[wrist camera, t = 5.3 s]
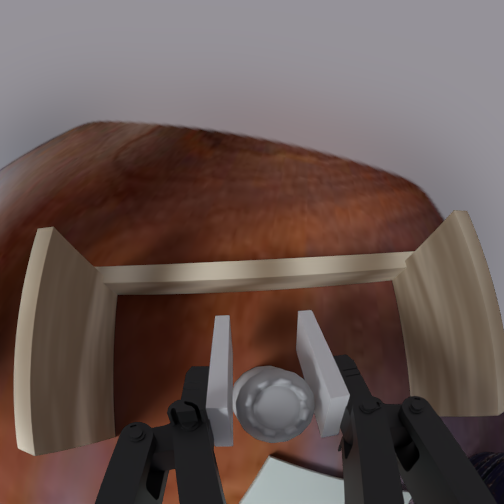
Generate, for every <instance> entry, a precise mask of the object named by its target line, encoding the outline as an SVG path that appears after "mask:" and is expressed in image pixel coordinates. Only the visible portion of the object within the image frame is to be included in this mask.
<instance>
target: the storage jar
mask: <svg viewBox="0 0 504 504" xmlns="http://www.w3.org/2000/svg"><path fill="white" fill-rule="evenodd" d="M469 460H470V462H471V463H472V465H473V466H474V468H475V469H476V471H477V472H478V474H479V475H480V477H481V478H482V480H483V482H484V483H485V485H486V486H487V488H488V489H489V491H490V493H491V494H492V496H493V498H494V499H495V501H496V502H497V504H504V453H492V452H483V453H479V454H476V455H475V456H473V457H471V458H469Z"/></svg>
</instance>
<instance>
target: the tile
mask: <svg viewBox="0 0 504 504" xmlns="http://www.w3.org/2000/svg"><path fill="white" fill-rule="evenodd" d="M402 491H403V497H404V504H408V503H409V501H410V500H411V498H412V497H411V495H410V493H409V491H404V490H402ZM239 504H345V499H344V479H342V478H338V477H334V476H331V475H327V474H323V473H320V472H317V471H313V470H310V469H307V468H304V467H301V466H298V465H295V464H292V463H289V462H287V461H284V460H281V459H278V458H276V457H273V456H271V455H269V456H268V458H267V459H266V461H265V463H264V465H263V466H262V468H261V469H260V471H259V473H258V474H257V476H256V478H255V479H254V481H253V482H252V484H251V485H250V487H249V489H248V490H247V492H246V493H245V495H244V496H243V498H242V499H241V501H240V502H239Z"/></svg>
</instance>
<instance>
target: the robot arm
mask: <svg viewBox="0 0 504 504" xmlns="http://www.w3.org/2000/svg"><path fill="white" fill-rule="evenodd" d="M296 352H297V355H298V359H299V362H300V366H301V369H302V372H303V376H304V379H305V381H306V382H307V383H308V385H309V387H310V389H311V390H312V392H313V394H314V402H315V410H314V414H315V417H316V421H317V424H318V428H319V432H320V435H321V438H323V437H328V436H334V435H338V433H339V430H340V428H341V431H342V434H343V437H342V439H341V442H340V445H339V448H338V451H341V448H342V460H343V476H344V499H345V504H404V497H403V491H402V485H401V480H400V475H401V477H402V479H403V481H404V483H405V485H406V487H407V489H408V491H409V493H410V495H411V497H412V499H413V501H414V503H415V504H497V502H496V501H495V499H494V498H493V496H492V494H491V493H490V491H489V489H488V488H487V486H486V485H485V483H484V482H483V480H482V478H481V477H480V475H479V474H478V472H477V471H476V469H475V468H474V466H473V465H472V463H471V462H470V460H469V459H468V457H467V456H466V454H465V453H464V451H463V450H462V448H461V447H460V445H459V444H458V443H457V441H456V440H455V438H454V437H453V435H452V434H451V433H450V431H449V430H448V428H447V427H446V426H445V424H444V423H443V421H442V420H441V419H440V417H439V416H438V414H437V413H436V412H435V410H434V409H433V408H432V406H431V405H430V404H429V402H428V401H427V400H426V399H424V398H422V397H419V396H412V397H408V398H407V399H405V400H404V402H403V403H402V404H384V403H382V401H381V400H379V399H378V398H376V397H373V396H372V395H371V393H370V391H369V389H368V387H367V385H366V383H365V381H364V379H363V377H362V376H361V375H360V372H359V370H358V369H357V366H356V364H355V362H354V360H352V359H351V358H350V357H349V356H347V355H339V356H332V353H331V351H330V349H329V347H328V345H327V342H326V340H325V338H324V336H323V334H322V331H321V329H320V327H319V325H318V323H317V321H316V319H315V316H314V314H313V312H312V310H306V311H298V323H297V341H296ZM184 382H185V383H184V387H183V392H182V397H181V400H177V401H175V402H174V403H172V404H171V405H170V406H169V408H168V411H167V414H168V417H169V420H170V422H171V423H169V424H167V425H164V426H160V427H154V428H151V427H150V426H148V425H147V424H145V423H142V422H134V423H130V424H128V425H127V426H125V427H124V428H123V430H122V431H121V434H120V436H119V439H118V441H117V444H116V446H115V449H114V452H113V454H112V457H111V460H110V462H109V465H108V468H107V470H106V473H105V476H104V479H103V482H102V484H101V487H100V490H99V493H98V496H97V499H96V502H95V504H162V501H163V496H164V492H165V487H166V482H167V477H168V473H169V470H171V469H176V478H177V486H178V494H179V501H180V504H226V501H225V497H224V493H223V489H222V484H221V480H220V476H219V471H218V467H217V462H216V458H215V454H214V444H215V446H233V351H232V340H231V328H230V316H229V315H224V316H215V324H214V332H213V341H212V350H211V360H210V366H192V367H191V368H190V369H189V371H188V372H187V373H186V376H185V381H184ZM399 473H400V474H399Z"/></svg>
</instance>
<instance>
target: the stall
mask: <svg viewBox="0 0 504 504" xmlns="http://www.w3.org/2000/svg"><path fill="white" fill-rule="evenodd" d="M389 280H392V282H393V287H394V291H395V296H396V301H397V306H398V311H399V316H400V321H401V327H402V333H403V339H404V345H405V352H406V359H407V367H408V375H409V385H410V396H411V397H412V396H419V397H422V398H424V399H426V400H427V401H428V402H429V404H430V405H431V406H432V408H433V409H434V410H435V412H436V413H437V414H438V416H448V417H475V416H498V415H500V414H501V413H503V412H504V329H503V324H502V319H501V314H500V310H499V305H498V301H497V297H496V293H495V289H494V285H493V282H492V279H491V275H490V272H489V268H488V265H487V262H486V259H485V256H484V253H483V250H482V247H481V245H480V242H479V239H478V236H477V234H476V231H475V229H474V226H473V224H472V221H471V219H470V216H469V214H468V212H467V211H458V210H456V211H455V210H454V211H453V212H452V213H451V214H450V215H449V216H448V217H447V218H446V219H445V221H444V222H443V223H442V224H441V225H440V226H439V227H438V228H437V229H436V230H435V231H434V232H433V233H432V234H431V235H430V236H429V237H428V238H427V239H426V241H425V242H424V243H423V244H422V245H421V246H420V247H419V248H418V249H417V250H416V251H412V252H396V253H379V254H362V255H344V256H326V257H307V258H288V259H268V260H248V261H227V262H205V263H183V264H159V265H135V266H109V267H94V266H93V265H92V264H90V263H89V262H88V261H87V260H86V259H85V258H84V257H83V256H82V255H81V254H80V253H79V252H78V251H77V250H76V249H75V248H74V247H73V246H72V245H71V244H70V243H69V242H68V241H67V240H66V239H65V238H64V237H63V236H62V235H61V234H60V233H59V232H58V231H57V230H56V229H55V228H54V227H47V228H40V229H38V230H37V233H36V237H35V240H34V244H33V247H32V251H31V255H30V259H29V263H28V267H27V272H26V276H25V281H24V286H23V291H22V297H21V303H20V309H19V316H18V324H17V333H16V343H15V358H14V413H15V427H16V437H17V445H18V448H19V449H21V450H23V451H25V452H27V453H30V454H32V455H34V456H37V455H43V454H48V453H53V452H58V451H63V450H68V449H72V448H76V447H81V446H85V445H89V444H92V443H96V442H100V441H103V440H107V439H110V438H114V437H115V423H114V400H113V356H114V332H115V317H116V305H117V295H149V294H192V293H220V292H242V291H262V290H279V289H294V288H309V287H322V286H335V285H346V284H358V283H369V282H379V281H389Z"/></svg>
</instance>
